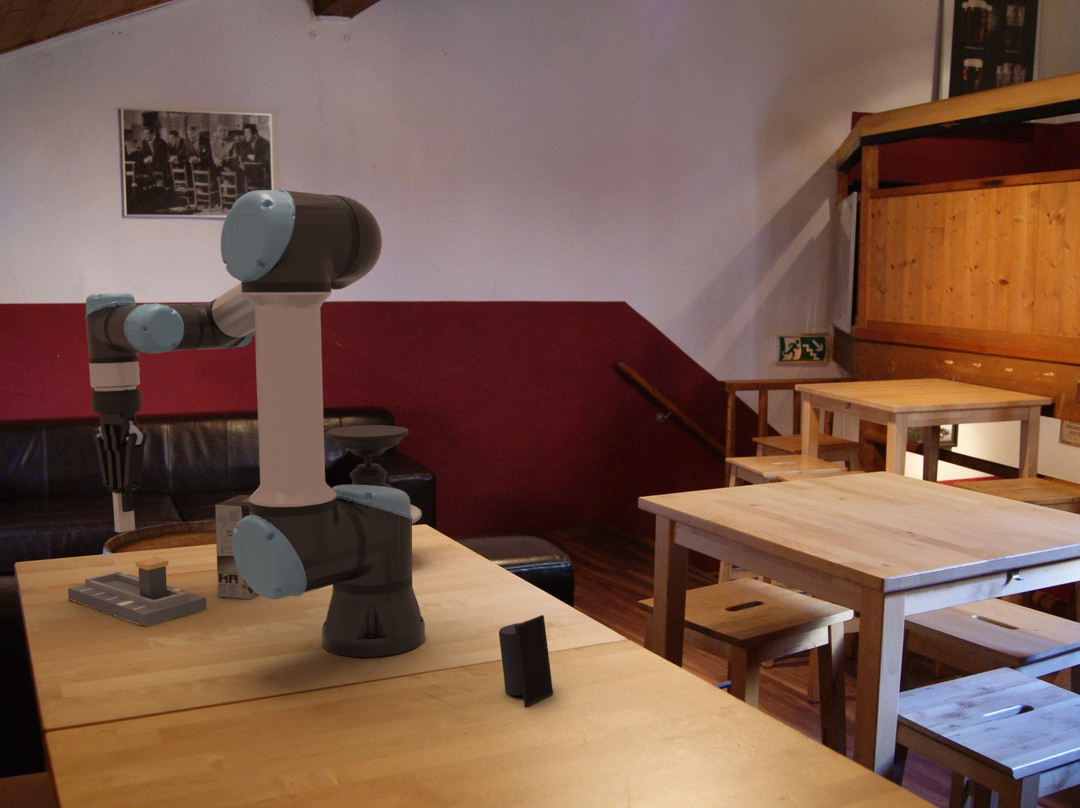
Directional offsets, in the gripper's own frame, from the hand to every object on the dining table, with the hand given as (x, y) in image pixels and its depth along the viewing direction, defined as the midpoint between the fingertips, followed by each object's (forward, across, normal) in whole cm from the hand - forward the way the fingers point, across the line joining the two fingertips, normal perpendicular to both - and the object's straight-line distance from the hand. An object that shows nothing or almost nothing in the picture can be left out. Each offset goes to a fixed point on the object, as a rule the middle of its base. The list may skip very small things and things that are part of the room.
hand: (125, 530), depth 172 cm
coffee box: (+13, -10, -16) cm, 23 cm away
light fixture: (+13, -14, -41) cm, 45 cm away
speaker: (+15, -76, -10) cm, 78 cm away
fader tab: (+10, -7, 0) cm, 12 cm away
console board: (+12, -2, 0) cm, 12 cm away
